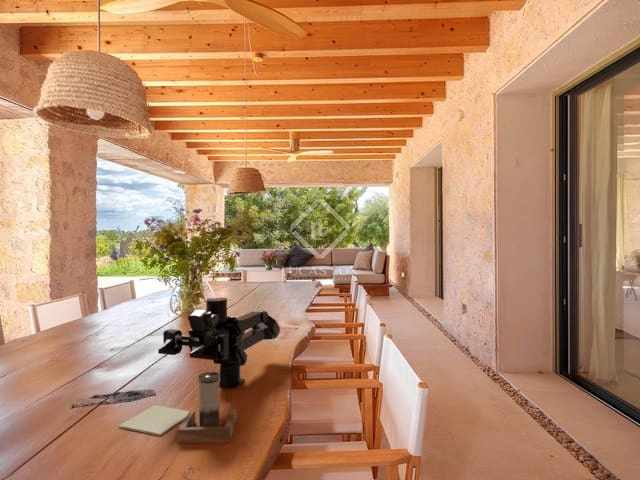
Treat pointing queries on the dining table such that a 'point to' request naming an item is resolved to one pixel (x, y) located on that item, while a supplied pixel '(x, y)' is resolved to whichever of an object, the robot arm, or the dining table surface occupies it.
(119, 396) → the driftwood
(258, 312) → the robot arm
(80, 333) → the dining table surface
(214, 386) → the canister
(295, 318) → the dining table surface
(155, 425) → the tile
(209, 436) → the cubby
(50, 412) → the dining table surface
